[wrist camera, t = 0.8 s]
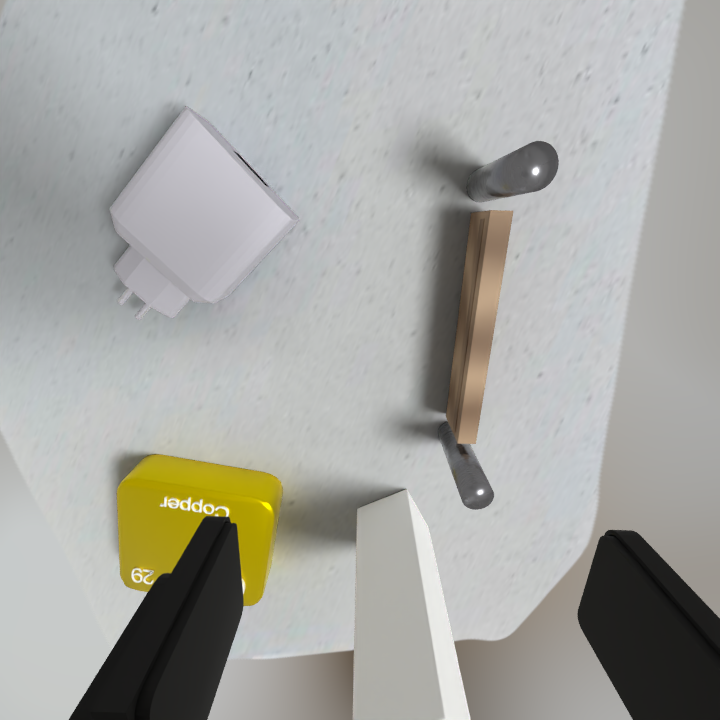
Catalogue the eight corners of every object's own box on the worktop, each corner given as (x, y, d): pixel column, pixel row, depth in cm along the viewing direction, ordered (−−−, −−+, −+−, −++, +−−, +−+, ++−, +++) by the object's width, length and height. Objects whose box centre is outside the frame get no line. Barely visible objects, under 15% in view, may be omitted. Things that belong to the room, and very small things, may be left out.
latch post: (439, 421, 35) (463, 483, 26) (463, 421, 35) (496, 484, 26) (436, 442, 36) (459, 509, 27) (460, 442, 36) (491, 509, 27)
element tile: (286, 473, 38) (275, 506, 33) (269, 574, 43) (259, 615, 38) (141, 448, 37) (110, 479, 32) (142, 554, 42) (116, 594, 37)
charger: (100, 264, 30) (211, 121, 26) (188, 341, 32) (302, 219, 29) (54, 271, 26) (180, 100, 22) (160, 359, 28) (290, 218, 24)
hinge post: (468, 167, 27) (517, 140, 19) (500, 168, 27) (562, 141, 19) (464, 201, 28) (509, 191, 19) (495, 202, 28) (553, 192, 19)
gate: (470, 212, 28) (489, 210, 24) (491, 213, 28) (514, 210, 24) (445, 416, 34) (457, 443, 30) (462, 417, 34) (476, 443, 30)
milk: (356, 507, 39) (346, 827, 18) (407, 487, 38) (458, 802, 17) (381, 545, 41) (396, 876, 20) (430, 527, 40) (501, 856, 19)
